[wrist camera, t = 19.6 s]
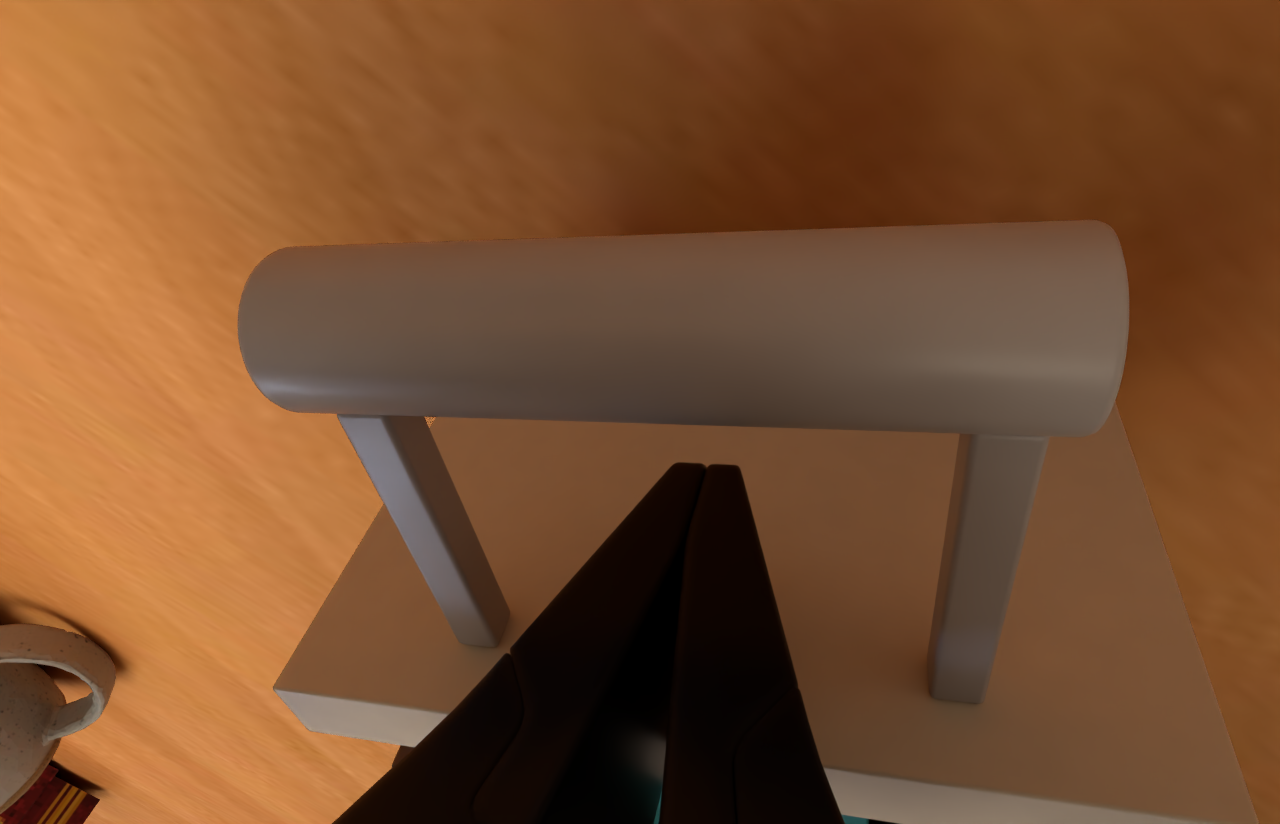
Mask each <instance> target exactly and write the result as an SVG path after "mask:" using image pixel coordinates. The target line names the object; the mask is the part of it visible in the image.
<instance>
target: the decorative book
mask: <svg viewBox="0 0 1280 824" xmlns="http://www.w3.org/2000/svg"><path fill="white" fill-rule="evenodd" d="M58 771H59V770H58V769H56V768H54V767H52V766H50V765H47V767H46V768H45V770H44V771H43V773H42V774H41V776H40V777H39V778H38V779H37V780H36V781H35V782H34V784H33V785H32V786H31V787H30V788H29V789H28V791H27V792H26V793H25V794H23V795H22V796H21V797H20V798H19V799H18V800H17V801H16V802H15V803H13V804H12V805H11V806H10V807H9V808H7V809H6V810H5V811H4V812H2V813H1V814H0V824H83V823H84V822H85V820H86V819H87V817H88V816H89V815H90V813H91V812H92V810H93V809H94V807H95V806H96V805H97V803H98V802H99V800H100V799H98V798H96V797H94V796H92V795H90V794H88V793H86V792H84V791H82V790H80V789H78V788H76V787H74V786H73V785H71V784H69V783H67V782H65V781H63V780H61V779H59V778H57V777H55V775H56V774H57V772H58Z"/></svg>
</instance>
